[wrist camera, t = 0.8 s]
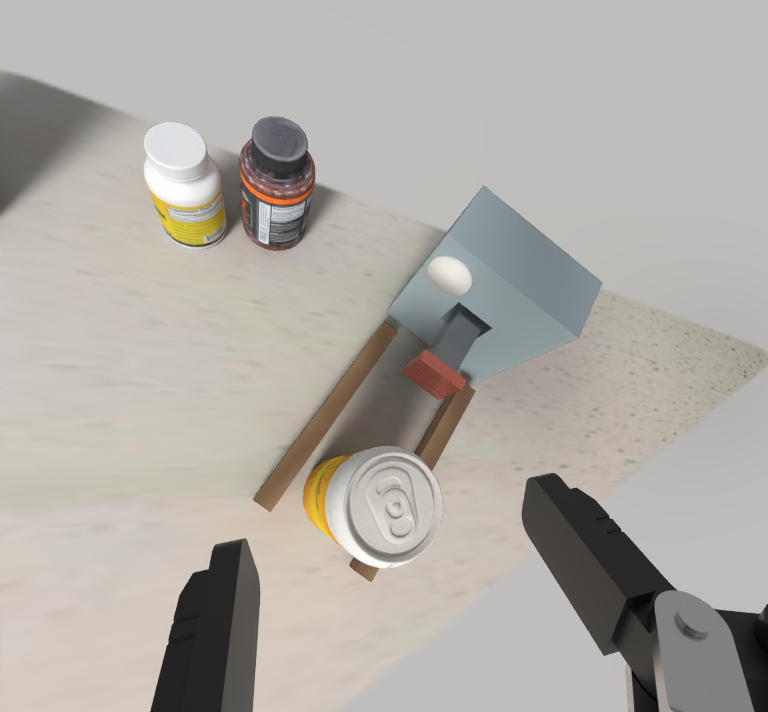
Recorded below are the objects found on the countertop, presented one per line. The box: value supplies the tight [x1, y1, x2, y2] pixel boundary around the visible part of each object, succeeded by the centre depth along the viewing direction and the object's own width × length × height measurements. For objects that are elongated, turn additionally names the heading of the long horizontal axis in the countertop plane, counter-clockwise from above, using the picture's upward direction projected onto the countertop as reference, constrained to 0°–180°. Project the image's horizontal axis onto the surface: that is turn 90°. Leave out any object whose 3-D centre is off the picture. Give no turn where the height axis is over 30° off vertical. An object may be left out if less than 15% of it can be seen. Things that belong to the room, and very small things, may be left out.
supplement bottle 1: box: [144, 122, 227, 249], centre depth 32 cm, size 5×5×10 cm
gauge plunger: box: [402, 302, 485, 400], centre depth 33 cm, size 4×10×4 cm, turn 146°
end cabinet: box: [386, 186, 602, 382], centre depth 35 cm, size 12×6×14 cm, turn 56°
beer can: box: [303, 446, 443, 568], centre depth 26 cm, size 6×6×15 cm
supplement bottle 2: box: [239, 117, 315, 250], centre depth 33 cm, size 6×6×11 cm
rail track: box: [253, 322, 475, 582], centre depth 35 cm, size 11×19×2 cm, turn 146°
